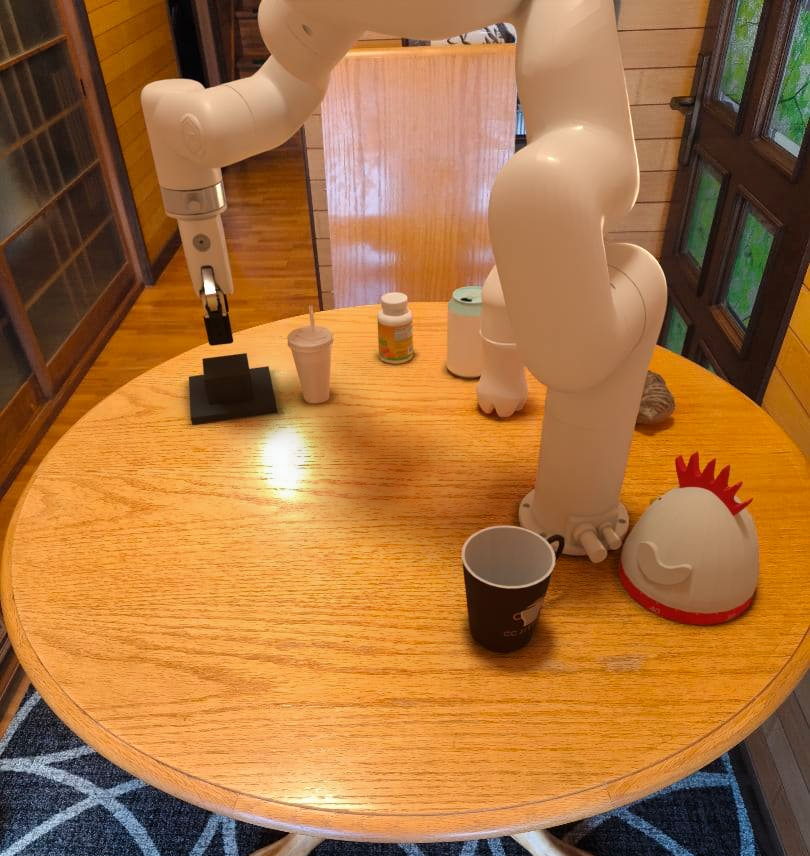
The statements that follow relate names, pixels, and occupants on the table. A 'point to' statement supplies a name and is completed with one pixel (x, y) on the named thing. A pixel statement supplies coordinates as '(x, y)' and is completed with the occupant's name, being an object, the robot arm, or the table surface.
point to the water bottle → (499, 355)
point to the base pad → (234, 409)
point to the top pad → (227, 378)
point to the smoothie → (312, 359)
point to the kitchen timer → (693, 549)
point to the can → (465, 332)
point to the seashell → (655, 400)
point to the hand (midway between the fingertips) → (219, 327)
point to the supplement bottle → (395, 329)
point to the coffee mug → (507, 584)
